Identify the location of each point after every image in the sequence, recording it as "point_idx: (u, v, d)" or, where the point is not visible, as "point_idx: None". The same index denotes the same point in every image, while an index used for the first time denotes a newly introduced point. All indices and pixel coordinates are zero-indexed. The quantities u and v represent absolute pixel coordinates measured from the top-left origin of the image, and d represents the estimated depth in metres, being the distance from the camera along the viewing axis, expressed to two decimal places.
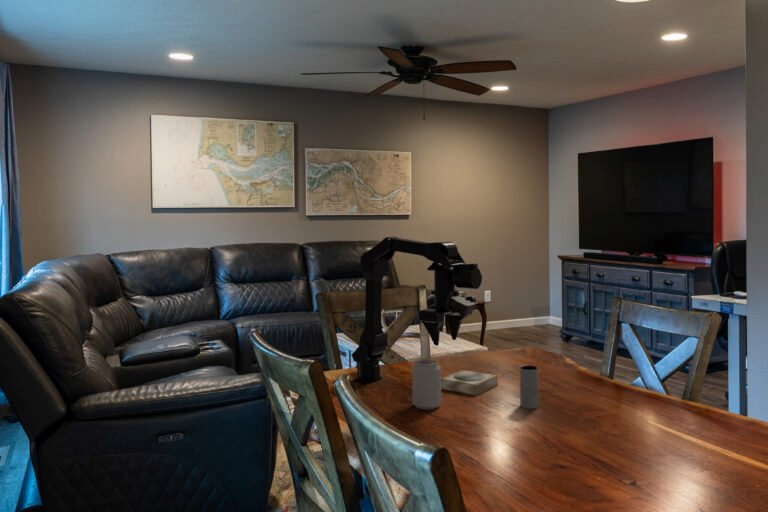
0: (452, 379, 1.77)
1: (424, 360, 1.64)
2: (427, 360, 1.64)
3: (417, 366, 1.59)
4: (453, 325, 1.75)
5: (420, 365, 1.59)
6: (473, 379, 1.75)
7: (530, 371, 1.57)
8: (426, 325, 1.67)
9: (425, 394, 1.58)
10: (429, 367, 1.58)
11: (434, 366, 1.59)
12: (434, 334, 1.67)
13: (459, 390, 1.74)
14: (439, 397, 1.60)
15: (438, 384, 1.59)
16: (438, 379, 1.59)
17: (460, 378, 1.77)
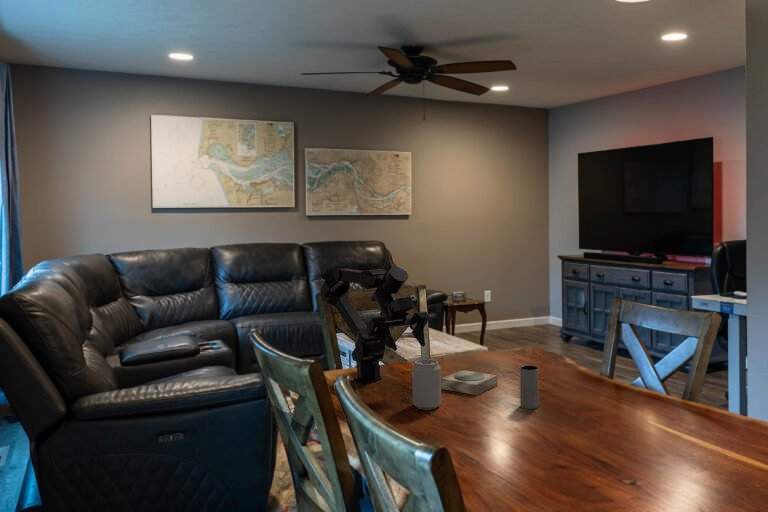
0: (452, 379, 1.77)
1: (424, 360, 1.64)
2: (427, 360, 1.64)
3: (417, 366, 1.59)
4: (418, 334, 1.75)
5: (420, 365, 1.59)
6: (473, 379, 1.75)
7: (530, 371, 1.57)
8: (380, 338, 1.71)
9: (425, 394, 1.58)
10: (429, 367, 1.58)
11: (434, 366, 1.59)
12: (388, 340, 1.68)
13: (459, 390, 1.74)
14: (439, 397, 1.60)
15: (438, 384, 1.59)
16: (438, 379, 1.59)
17: (460, 378, 1.77)
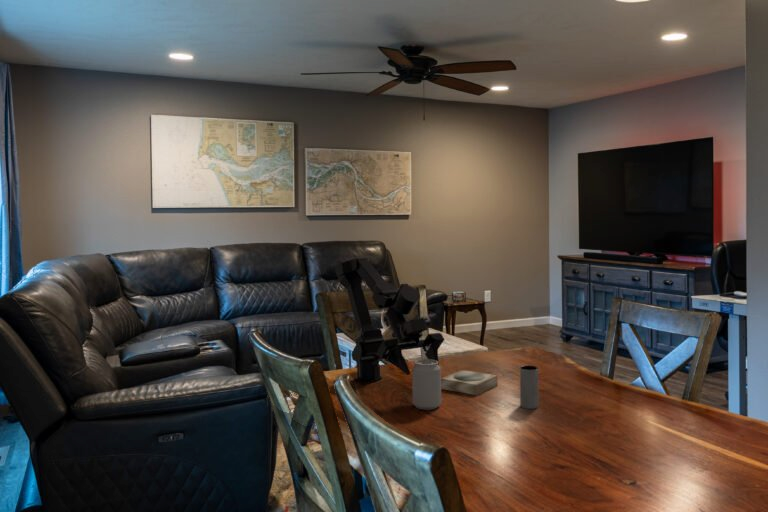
0: (452, 379, 1.77)
1: (424, 360, 1.64)
2: (427, 360, 1.64)
3: (417, 366, 1.59)
4: (431, 357, 1.67)
5: (420, 365, 1.59)
6: (473, 379, 1.75)
7: (530, 371, 1.57)
8: (392, 361, 1.64)
9: (425, 394, 1.58)
10: (429, 367, 1.58)
11: (434, 366, 1.59)
12: (400, 363, 1.61)
13: (459, 390, 1.74)
14: (439, 397, 1.60)
15: (438, 384, 1.59)
16: (438, 379, 1.59)
17: (460, 378, 1.77)
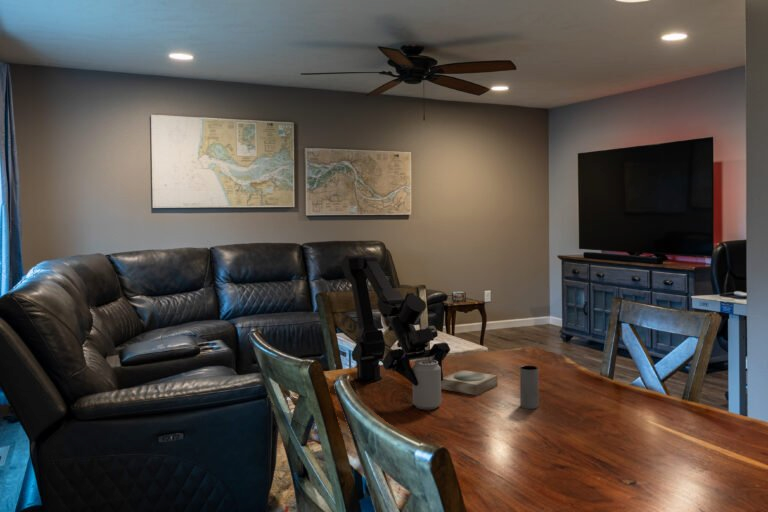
0: (452, 379, 1.77)
1: (424, 360, 1.64)
2: (427, 360, 1.64)
3: (417, 366, 1.59)
4: None
5: (420, 365, 1.59)
6: (473, 379, 1.75)
7: (530, 371, 1.57)
8: (399, 371, 1.62)
9: (425, 394, 1.58)
10: (429, 367, 1.58)
11: (434, 366, 1.59)
12: (408, 374, 1.59)
13: (459, 390, 1.74)
14: (439, 397, 1.60)
15: (438, 384, 1.59)
16: (438, 379, 1.59)
17: (460, 378, 1.77)
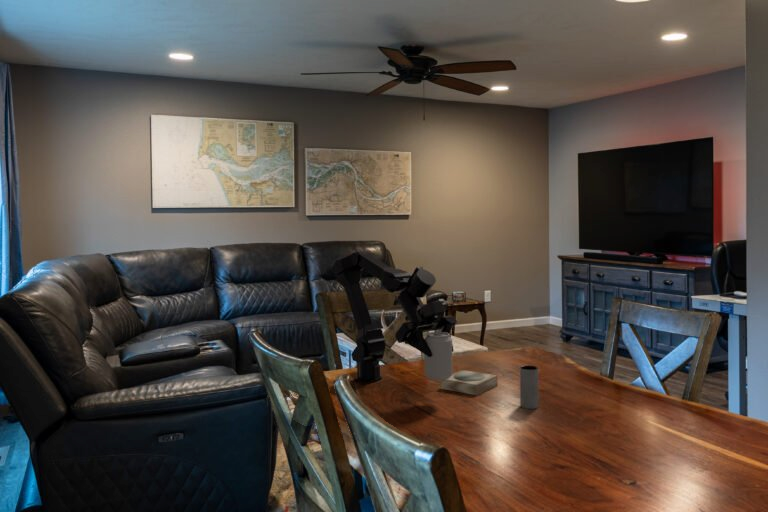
0: (452, 379, 1.77)
1: (434, 332, 1.67)
2: (437, 332, 1.67)
3: (430, 338, 1.62)
4: None
5: (434, 337, 1.62)
6: (473, 379, 1.75)
7: (530, 371, 1.57)
8: (412, 344, 1.64)
9: (439, 365, 1.61)
10: (442, 338, 1.62)
11: (447, 337, 1.62)
12: (422, 346, 1.62)
13: (459, 390, 1.74)
14: (451, 368, 1.64)
15: (451, 355, 1.63)
16: (451, 350, 1.63)
17: (460, 378, 1.77)
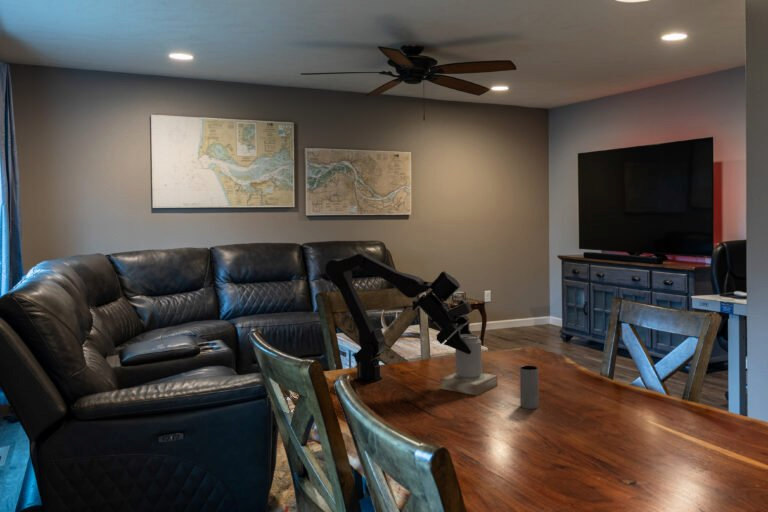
0: (452, 379, 1.77)
1: None
2: (462, 335, 1.81)
3: (467, 340, 1.75)
4: None
5: (470, 339, 1.75)
6: (473, 379, 1.75)
7: (530, 371, 1.57)
8: (450, 344, 1.74)
9: (477, 364, 1.76)
10: (477, 339, 1.76)
11: (478, 338, 1.78)
12: (461, 345, 1.73)
13: (459, 390, 1.74)
14: None
15: None
16: None
17: (460, 378, 1.77)
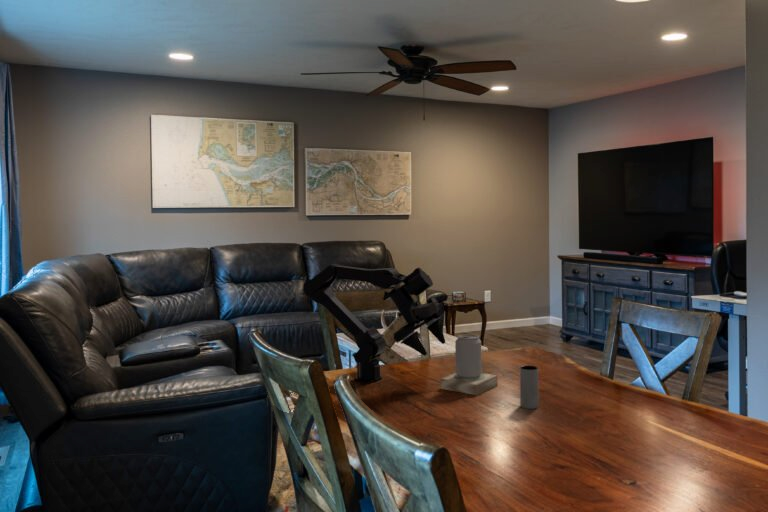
0: (452, 379, 1.77)
1: (460, 335, 1.80)
2: (462, 335, 1.81)
3: (467, 340, 1.75)
4: (436, 331, 1.85)
5: (470, 339, 1.75)
6: (473, 379, 1.75)
7: (530, 371, 1.57)
8: (407, 343, 1.78)
9: (477, 364, 1.76)
10: (477, 339, 1.76)
11: (478, 338, 1.78)
12: (417, 346, 1.77)
13: (459, 390, 1.74)
14: None
15: None
16: None
17: (460, 378, 1.77)
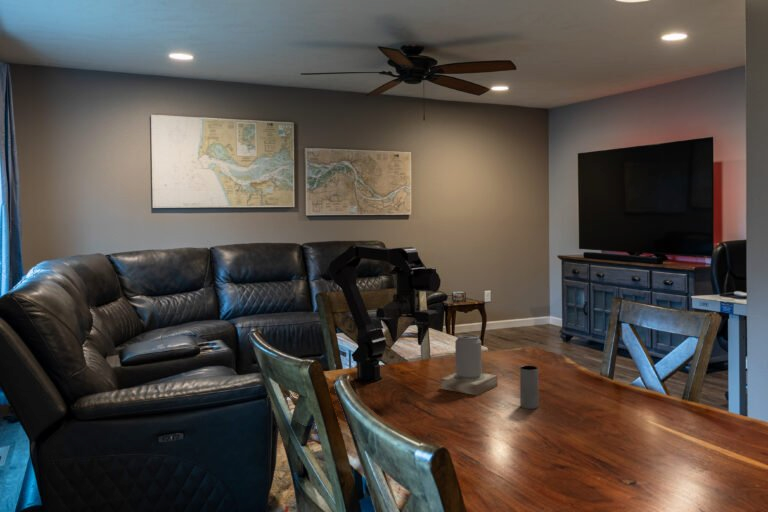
0: (452, 379, 1.77)
1: (460, 335, 1.80)
2: (462, 335, 1.81)
3: (467, 340, 1.75)
4: None
5: (470, 339, 1.75)
6: (473, 379, 1.75)
7: (530, 372, 1.57)
8: None
9: (477, 364, 1.76)
10: (477, 339, 1.76)
11: (478, 338, 1.78)
12: None
13: (459, 390, 1.74)
14: None
15: None
16: None
17: (460, 378, 1.77)
